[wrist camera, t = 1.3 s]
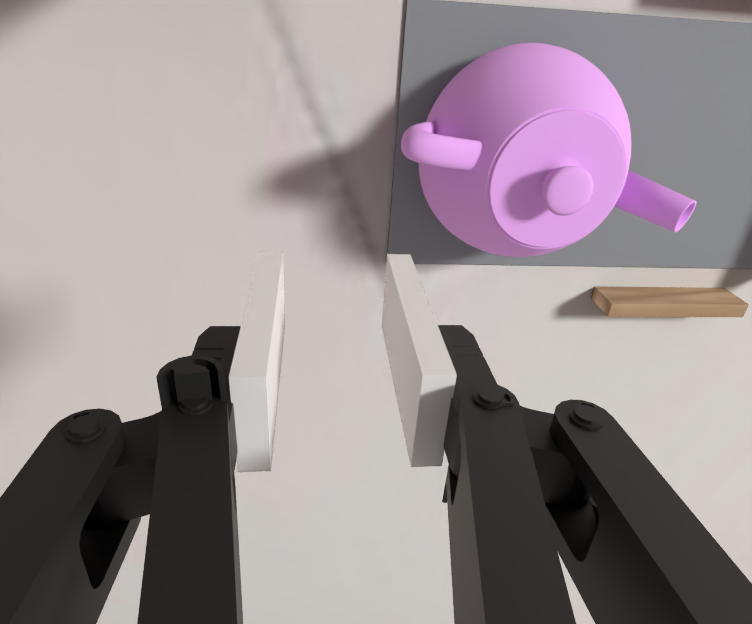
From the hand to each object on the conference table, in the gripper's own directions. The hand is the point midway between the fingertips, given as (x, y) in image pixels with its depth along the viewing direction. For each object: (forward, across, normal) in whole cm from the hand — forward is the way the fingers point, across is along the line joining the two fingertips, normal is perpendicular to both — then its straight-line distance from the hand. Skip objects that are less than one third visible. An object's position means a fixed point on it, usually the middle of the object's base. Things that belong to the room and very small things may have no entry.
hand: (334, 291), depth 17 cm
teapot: (+23, +14, 0) cm, 27 cm away
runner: (+23, +22, 0) cm, 32 cm away
